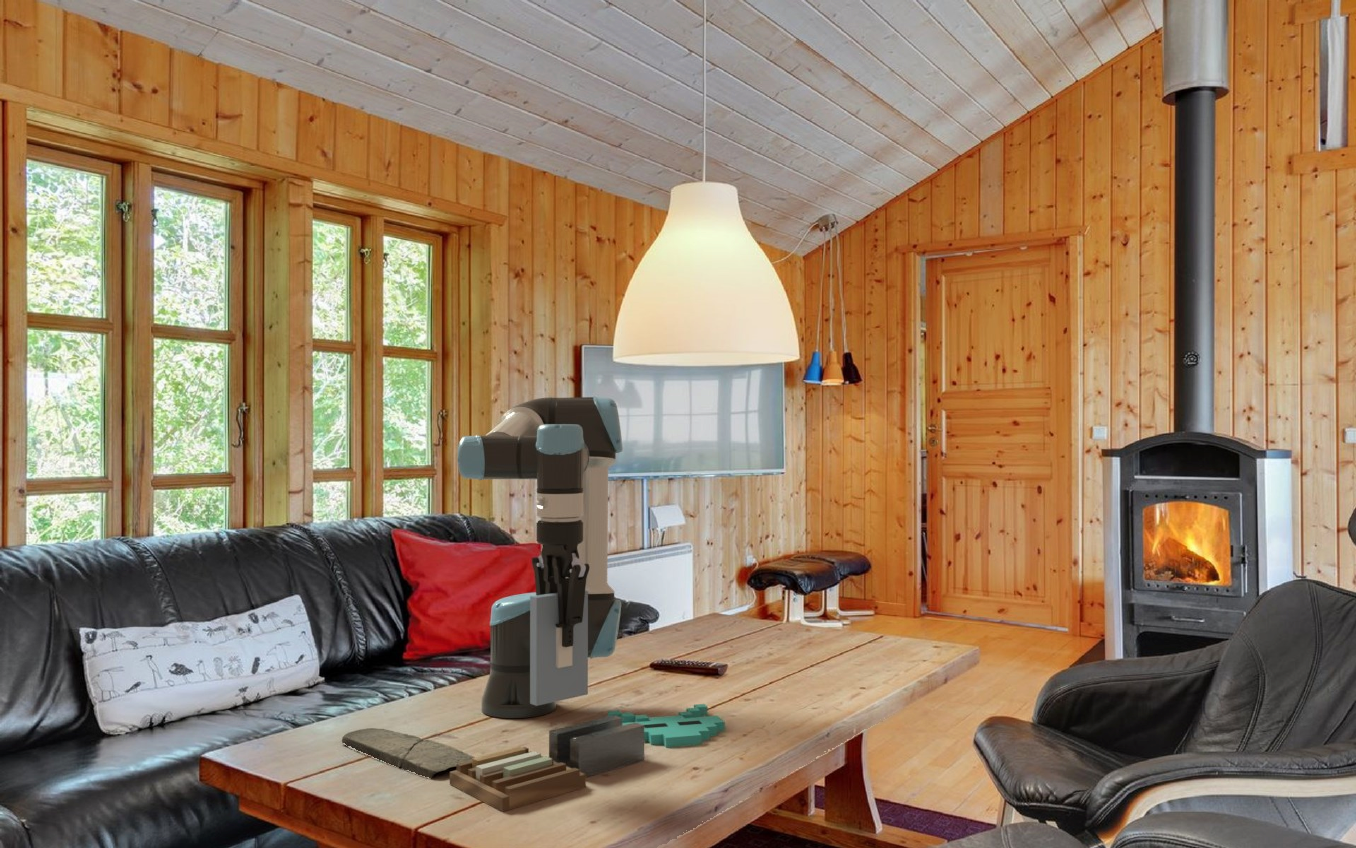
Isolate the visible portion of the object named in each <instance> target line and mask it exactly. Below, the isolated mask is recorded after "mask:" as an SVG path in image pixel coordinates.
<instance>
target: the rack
mask: <svg viewBox="0 0 1356 848" xmlns="http://www.w3.org/2000/svg"><path fill="white" fill-rule="evenodd" d="M522 748H524V749H526V753H529V752H532V751H529V750H530V749H529V748H528V747H526V746H523V747H522ZM536 752H537V753H540V752H538V751H536ZM540 754H541V753H540ZM542 757H544V756H543V755H542V754H541V758H542ZM547 757H548V758H550V757H549V756H547ZM551 759H552V765H550V766H546V767H543V768H539V769H535V770H532V771H528V772H524V773H520V774H517V775H513V776H509V777H506V778H503V769H502V770H498V771H494V772H490V773H486V774H482V775H480V781H478V780H476V768H472V760H470V761H466V762H462V763H458V764H457V766H455V767H456V769H455V770H452V771H449V785H450V784H451V785H450V786H452V787H454V788H456V787H457V788H456V789H457V790H460V791H461V790H462V791H461V792H463V791H464V793H466V794H468V795H469V796H471V797H473V796H474V797H473V798H475V799H478V800H479V801H481V802H483V803H484V804H487V805H489V806H491V807H493V808H494V809H496V810H498V811H500V812H507V811H509V810H513V809H516V808H519V807H523V806H526V805H530V804H533V803H537V802H540V801H543V800H547V799H550V798H554V797H557V796H561V795H563V794H567V793H570V792H573V791H577V790H580V789H583V788H586V786H587V785H586V784H587V783H586V781H587V780H586V779H587V777H586V774H584V773H581V772H580V770H579V769H577V768H573V769H572V768H569V767H567V766H566V764H565V763H562V762H561V763H557V762H555V761H553V758H551Z"/></svg>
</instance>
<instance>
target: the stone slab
mask: <svg viewBox="0 0 1356 848" xmlns="http://www.w3.org/2000/svg"><path fill="white" fill-rule="evenodd" d="M341 743H342V744H343V743H345V744H346V745H347V746H351V747H352V748H355V749H356V750H358V751H361V752H363V753H366V754H368V755H371V756H373V757H374V758H377V759H379V760H382V761H384V762H386V763H389V764H391V765H394V766H396V767H402V768H403V769H405V770H409V771H411V772H415V773H416V774H418V775H422V776H425V777H429V778H432V779H433V777H434V775H436V774H437V773H440V772H442V771H446V770H448V769H451V768H454V767H456V766H457V764H458V763H462V762H466V761H470V760H472V758H476V757H475V756H473V755H470V754H468V753H466V752H463V751H461V750H459V749H457V748H455V747H453V746H450V745H448V744H445V743H441V742H439V741H435V740H432V739H423V738H420V737H419V736H416V735H412V734H407V733H404V732H403V733H402V732H400V731H399V732H398V731H393V730H389V729H385V728H376V727H375V728H372V727H370V728H363V729H356V730H353V731H350V732H347V733H345V734H344V735H343V736H342V737H341ZM391 765H390V766H391ZM394 766H393V767H394ZM396 767H395V768H396ZM405 770H404V771H405ZM416 774H415V775H416ZM418 775H417V776H418Z"/></svg>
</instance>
